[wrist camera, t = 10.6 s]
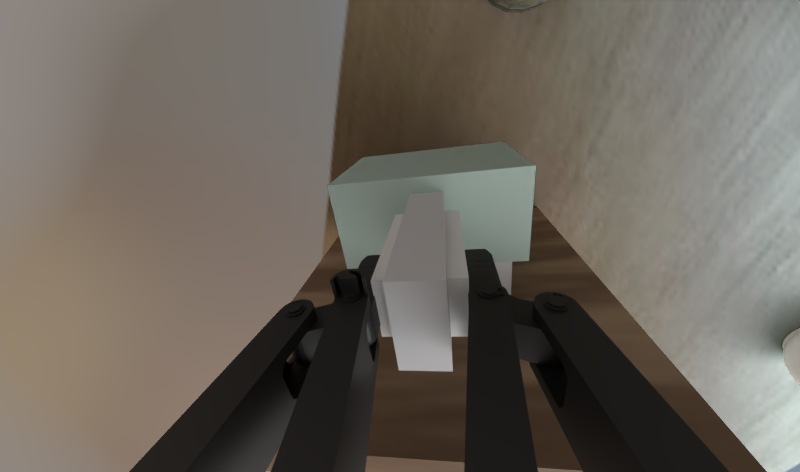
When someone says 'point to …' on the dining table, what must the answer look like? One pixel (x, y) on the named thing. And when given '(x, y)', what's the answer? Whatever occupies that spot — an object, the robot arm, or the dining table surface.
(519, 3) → the thermos
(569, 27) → the dining table surface
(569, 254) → the wall board
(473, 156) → the pale green block
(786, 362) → the lidded jar
